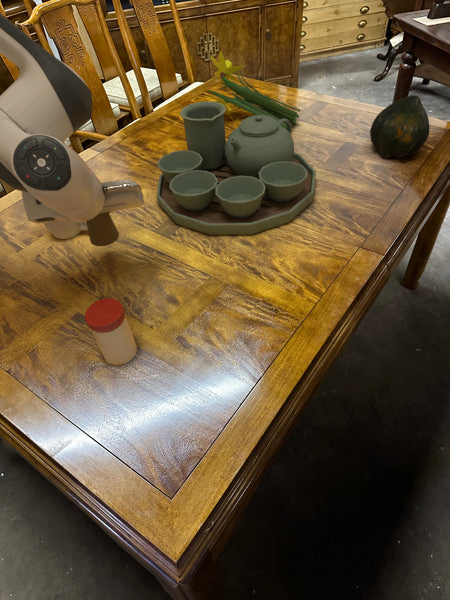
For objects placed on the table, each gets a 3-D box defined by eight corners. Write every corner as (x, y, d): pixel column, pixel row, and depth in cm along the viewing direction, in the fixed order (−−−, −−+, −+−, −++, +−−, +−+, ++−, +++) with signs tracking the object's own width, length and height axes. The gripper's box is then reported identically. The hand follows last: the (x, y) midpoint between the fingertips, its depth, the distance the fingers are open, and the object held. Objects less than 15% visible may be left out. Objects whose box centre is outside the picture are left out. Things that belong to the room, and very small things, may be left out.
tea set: (129, 219, 102) (111, 155, 90) (204, 146, 126) (197, 88, 114) (284, 255, 88) (286, 185, 76) (335, 165, 112) (342, 102, 100)
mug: (42, 241, 98) (24, 204, 91) (62, 219, 104) (47, 183, 97) (89, 247, 95) (75, 210, 88) (108, 224, 101) (95, 188, 94)
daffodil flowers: (277, 145, 124) (182, 97, 132) (288, 150, 138) (201, 106, 145) (305, 88, 118) (202, 41, 125) (313, 98, 131) (221, 55, 139)
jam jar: (102, 368, 71) (83, 330, 64) (106, 342, 75) (88, 303, 68) (136, 364, 71) (121, 325, 64) (138, 338, 75) (124, 298, 68)
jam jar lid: (84, 335, 64) (81, 328, 63) (90, 306, 69) (87, 300, 68) (124, 330, 65) (121, 324, 63) (126, 302, 69) (124, 295, 68)
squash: (356, 140, 109) (407, 97, 99) (364, 119, 119) (411, 78, 109) (391, 178, 113) (444, 141, 102) (396, 154, 123) (444, 118, 112)
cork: (102, 226, 90) (85, 180, 82) (124, 232, 88) (110, 185, 80) (84, 242, 86) (65, 196, 78) (107, 249, 84) (90, 201, 76)
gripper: (135, 164, 70) (145, 187, 84) (11, 184, 68) (41, 204, 82) (142, 201, 70) (150, 218, 84) (18, 222, 69) (47, 235, 82)
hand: (96, 211), depth 83 cm, fingers closed on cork, 4 cm apart
